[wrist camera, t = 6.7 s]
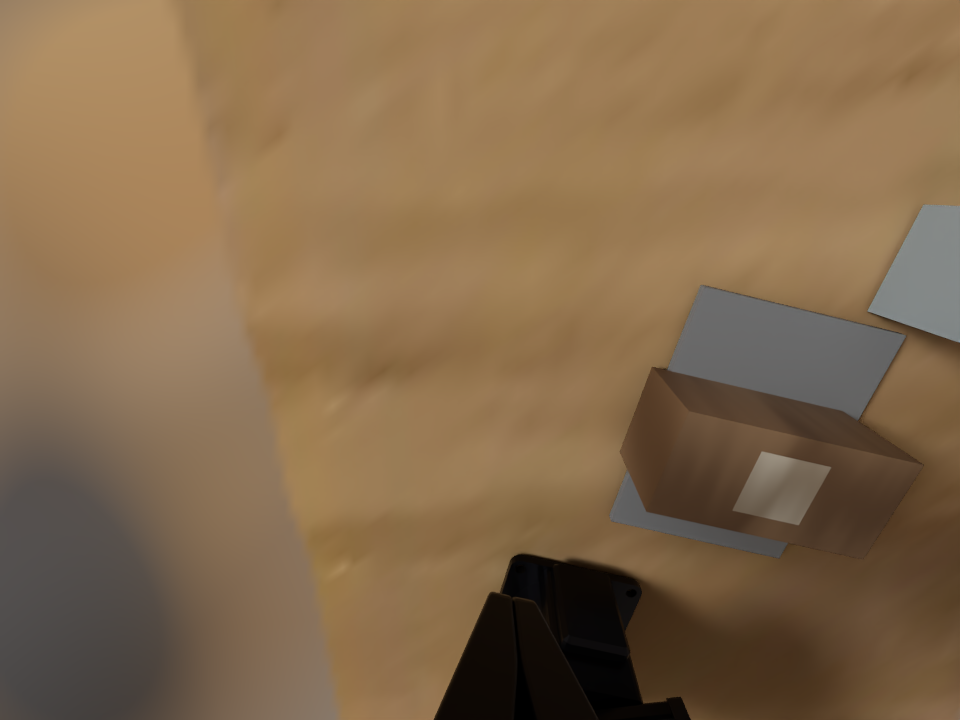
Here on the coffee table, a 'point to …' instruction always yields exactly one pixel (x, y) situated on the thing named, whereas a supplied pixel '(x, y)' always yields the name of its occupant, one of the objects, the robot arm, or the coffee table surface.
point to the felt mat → (768, 379)
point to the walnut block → (763, 464)
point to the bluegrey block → (926, 275)
